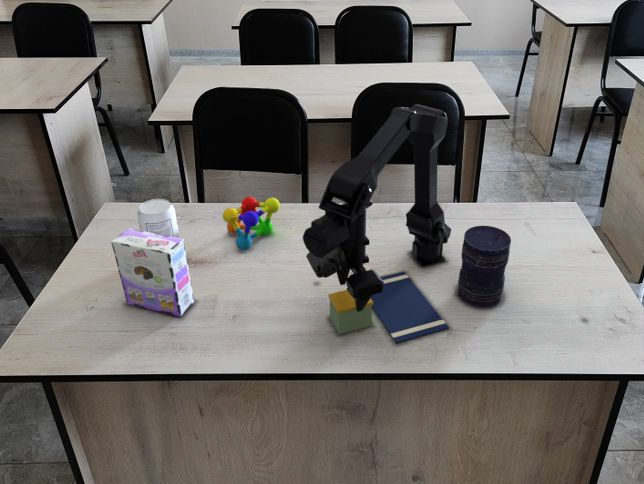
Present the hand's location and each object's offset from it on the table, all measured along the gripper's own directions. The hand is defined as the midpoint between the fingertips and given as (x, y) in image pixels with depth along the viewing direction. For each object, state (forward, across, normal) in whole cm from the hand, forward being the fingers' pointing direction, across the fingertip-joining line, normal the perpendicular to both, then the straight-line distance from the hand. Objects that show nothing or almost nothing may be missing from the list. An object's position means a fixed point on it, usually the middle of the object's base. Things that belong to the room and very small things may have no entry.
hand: (350, 297), depth 123 cm
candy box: (+7, -21, -36) cm, 42 cm away
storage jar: (+7, +2, +30) cm, 31 cm away
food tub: (+6, 0, 0) cm, 6 cm away
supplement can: (+7, -37, -33) cm, 50 cm away
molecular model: (+7, -38, -12) cm, 40 cm away
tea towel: (+6, -1, +12) cm, 14 cm away
